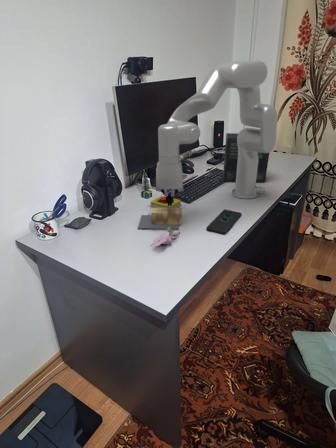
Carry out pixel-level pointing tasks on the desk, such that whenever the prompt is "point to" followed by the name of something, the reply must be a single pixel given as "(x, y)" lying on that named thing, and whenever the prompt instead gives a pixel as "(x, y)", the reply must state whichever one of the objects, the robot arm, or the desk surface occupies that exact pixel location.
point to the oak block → (166, 216)
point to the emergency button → (161, 203)
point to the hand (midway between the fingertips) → (169, 204)
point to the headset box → (232, 160)
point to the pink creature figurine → (166, 237)
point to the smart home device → (223, 222)
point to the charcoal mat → (147, 224)
